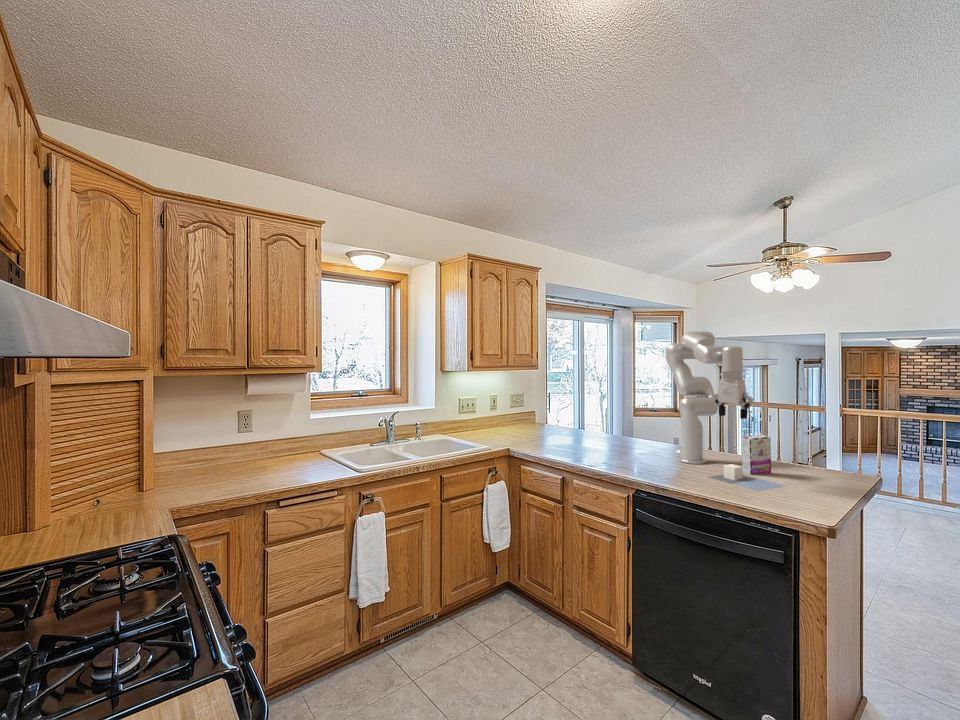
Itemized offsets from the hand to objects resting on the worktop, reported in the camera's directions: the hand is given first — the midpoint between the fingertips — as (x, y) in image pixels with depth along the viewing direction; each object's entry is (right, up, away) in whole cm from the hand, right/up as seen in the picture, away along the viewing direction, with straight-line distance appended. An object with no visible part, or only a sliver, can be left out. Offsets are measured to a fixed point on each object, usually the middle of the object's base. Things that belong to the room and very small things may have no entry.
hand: (732, 417), depth 188 cm
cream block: (0, -26, 0) cm, 26 cm away
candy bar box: (+15, -26, +9) cm, 32 cm away
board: (+3, -26, -5) cm, 27 cm away
